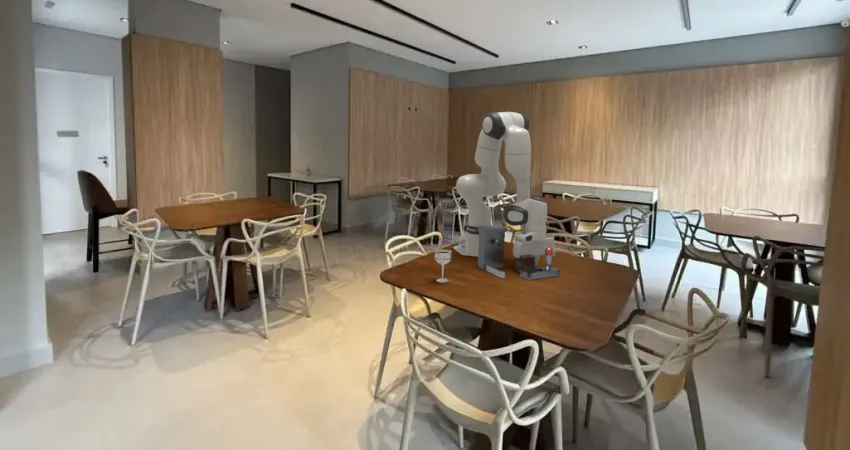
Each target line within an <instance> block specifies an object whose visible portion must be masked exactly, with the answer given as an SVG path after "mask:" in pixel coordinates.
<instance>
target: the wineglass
mask: <svg viewBox="0 0 850 450" xmlns="http://www.w3.org/2000/svg"><path fill="white" fill-rule="evenodd" d="M452 258H453V257H452V250H450V249H444V248H443V249H441V248H440V249H436V250H434V260H435V261H436V262H437V264H440V265H441V278H438V279H436V280H435V281H436V282H438V283H448V282H449V279H447V278H444V268H445V266H446V265H447V264H448V263H450V262H451V260H452Z"/></svg>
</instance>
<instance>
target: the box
mask: <svg viewBox="0 0 850 450" xmlns="http://www.w3.org/2000/svg"><path fill="white" fill-rule="evenodd" d="M534 263H535V256H533V255H525V256H520V258H516V257H515V271H516V272H518V273H520V270H524V269H532V268H535V266H534Z"/></svg>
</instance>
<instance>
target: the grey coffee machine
mask: <svg viewBox="0 0 850 450" xmlns="http://www.w3.org/2000/svg"><path fill="white" fill-rule="evenodd" d="M507 229H508V227H506V226H503V225H499V224H496V225H491V226H481V227H478V230H477V231H478V232H479V246H478V257H477V267H478V268H479V269H481V270H485V271H486V272H487V273H490V274H493V275H494V276H496V277H499V278H501V279H505V278H506V271H503V270H500V269H501V268H502V269H503V268H504V257H505V256H504V255H505V235H506V233H507V231H508V230H507Z"/></svg>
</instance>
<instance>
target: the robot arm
mask: <svg viewBox="0 0 850 450" xmlns="http://www.w3.org/2000/svg"><path fill="white" fill-rule="evenodd" d="M529 128H530V120H529V116H527V115H526V114H524V113H522V112H514V111H500V112H496V111H493V112H489V113H486V114H485V116H484V117H483V119H482V123H481V131H480V133H479V137H478V139H477V144H476V150H475V155H474V161H475V164H476V165H478V167H479V168H481V173H469V174H465V175H462V176H459V177H458V179H457V180H456V184H455V189H456V192H457V193H458V195H459V196H461V198H462V199H463V200H464V201H465V204H466V206H467V214H468V215H467V216H468V217H467V219H468V224H465V228H466V229H465V232H464V233H463V234H461V236H459V237H458V240H457V243H458V244H457V245H455V246H452V247H453V250H455V251H456V252H457V253H458V254H460V255H462V256H468V257H469V256H470V257H477V258H478V246H479V232H478V231H477V230H478V227H481V226H492V209H491V208H490V206H488V205H487V204H485V203H484V202H485V201H484V198H485V197H486V198H487V197H495V196H499V195H501V194H503V193H504V192H505V190H506V185H507V184H506V179H505V178H504V176H503V175H502V174H501V172H500V169H499V161H500V154H501V150H502V144H503V142H504V166H505V169H506V171H507V172H508V173H509V174H510V175H511V176H512V177H513V178H514V180H515V184H516V188H515V189H516V190H515V191H516V200H515V203H511V204H509V205H507V206H506V208H505V209H504V211H503V218H504V221H505V222H506V223H507V224H508V225H510V226H516V227H517V226H524V229H523V230H521V231H519V232H517V233H515V234H514V239H515V241H514V242H513V247H512V256H513V257H514V258H515V259H516V258H520V256H525V255H533V256H535V263H534V267H536V266H538V262H539V260H540V258H541V256H546V254H545V249H546V248H548V247H550V248H552V249H553V253H554V251H555V252H556V249H555V246H556V244H555V235H553V234H552V233H547V226H546V224H547V223H546V222H547V220H548V205H547V201H546V200H545V199H544V198H541V197H538V196H532V187H531V185H532V184H531V165H532V164H531V162H532V142H531V136H530V132H529Z"/></svg>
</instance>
